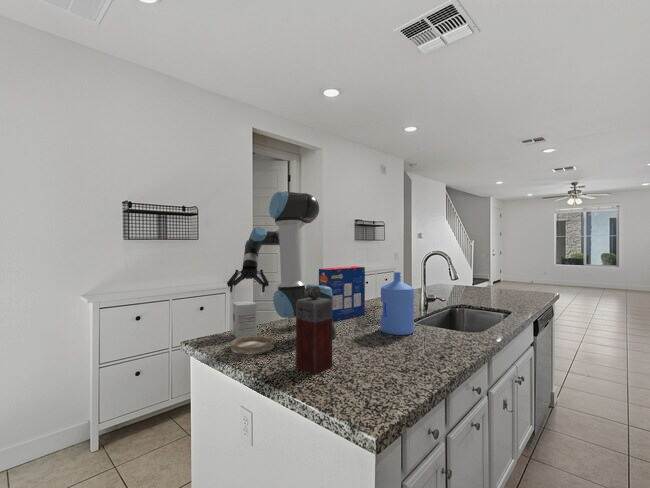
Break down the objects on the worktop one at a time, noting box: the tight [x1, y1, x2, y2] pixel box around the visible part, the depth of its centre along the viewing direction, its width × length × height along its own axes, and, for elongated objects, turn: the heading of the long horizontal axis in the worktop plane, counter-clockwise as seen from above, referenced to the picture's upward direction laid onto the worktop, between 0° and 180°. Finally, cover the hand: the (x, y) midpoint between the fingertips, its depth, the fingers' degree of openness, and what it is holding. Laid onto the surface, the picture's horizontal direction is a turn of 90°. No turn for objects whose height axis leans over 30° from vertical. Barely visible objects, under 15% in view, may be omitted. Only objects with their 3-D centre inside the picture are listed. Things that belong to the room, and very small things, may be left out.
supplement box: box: [232, 300, 258, 339], centre depth 158 cm, size 9×9×15 cm
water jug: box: [380, 271, 415, 336], centre depth 166 cm, size 16×16×28 cm
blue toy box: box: [318, 265, 366, 323], centre depth 194 cm, size 28×8×28 cm, turn 131°
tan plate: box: [229, 335, 275, 355], centre depth 141 cm, size 17×17×2 cm
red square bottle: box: [295, 286, 333, 375], centre depth 119 cm, size 9×11×28 cm
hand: (246, 297), depth 168 cm, fingers open, 13 cm apart
